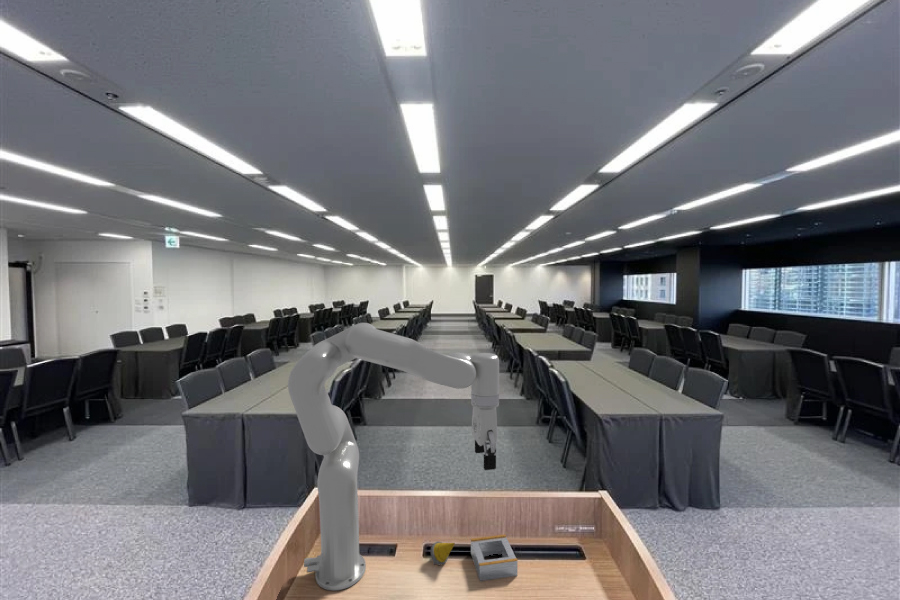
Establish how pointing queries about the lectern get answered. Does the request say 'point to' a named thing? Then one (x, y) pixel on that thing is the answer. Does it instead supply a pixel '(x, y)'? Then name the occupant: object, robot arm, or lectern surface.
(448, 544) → the drill bit
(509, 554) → the block
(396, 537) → the lectern surface
